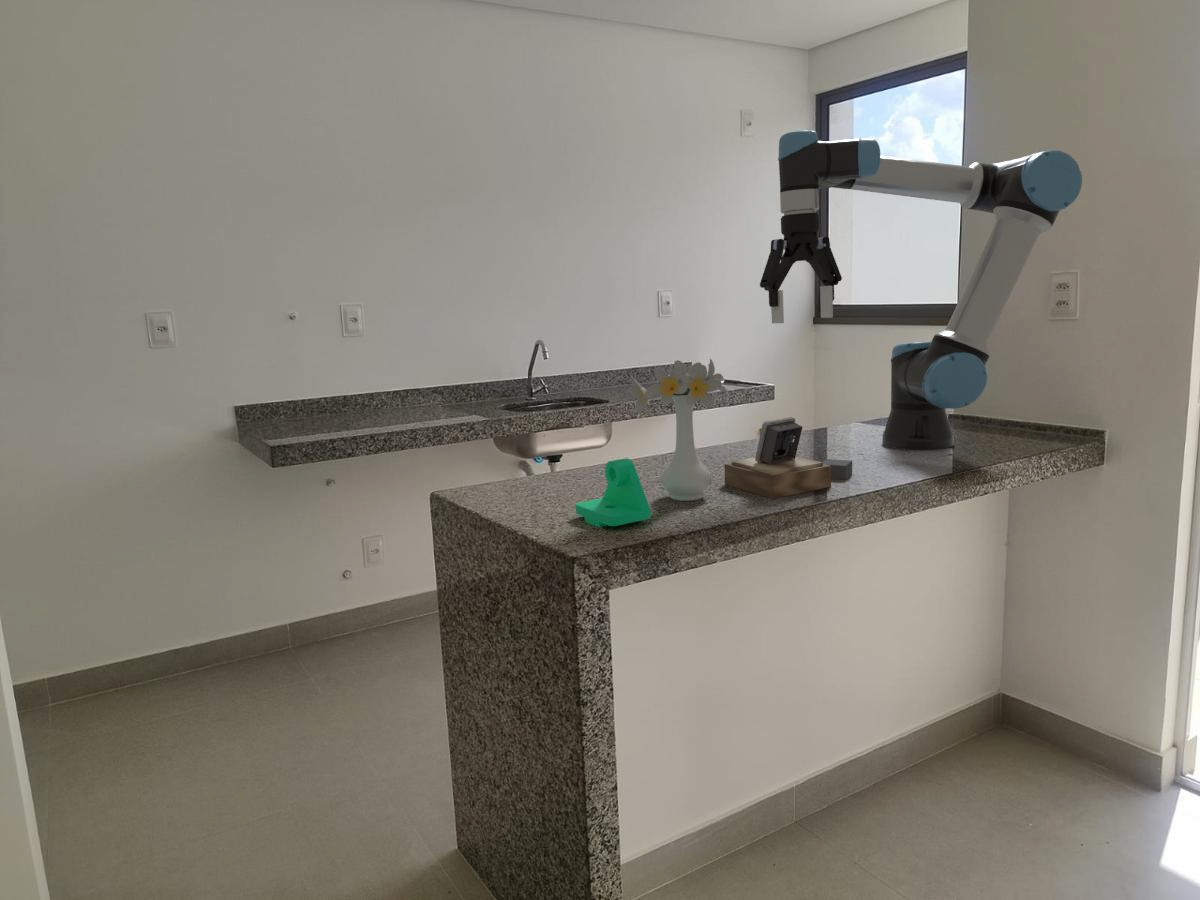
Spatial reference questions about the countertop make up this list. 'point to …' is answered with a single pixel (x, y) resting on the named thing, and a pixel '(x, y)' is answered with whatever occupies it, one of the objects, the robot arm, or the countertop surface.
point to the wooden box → (778, 476)
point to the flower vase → (683, 423)
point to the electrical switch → (778, 441)
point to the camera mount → (617, 498)
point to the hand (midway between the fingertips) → (802, 320)
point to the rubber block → (839, 468)
